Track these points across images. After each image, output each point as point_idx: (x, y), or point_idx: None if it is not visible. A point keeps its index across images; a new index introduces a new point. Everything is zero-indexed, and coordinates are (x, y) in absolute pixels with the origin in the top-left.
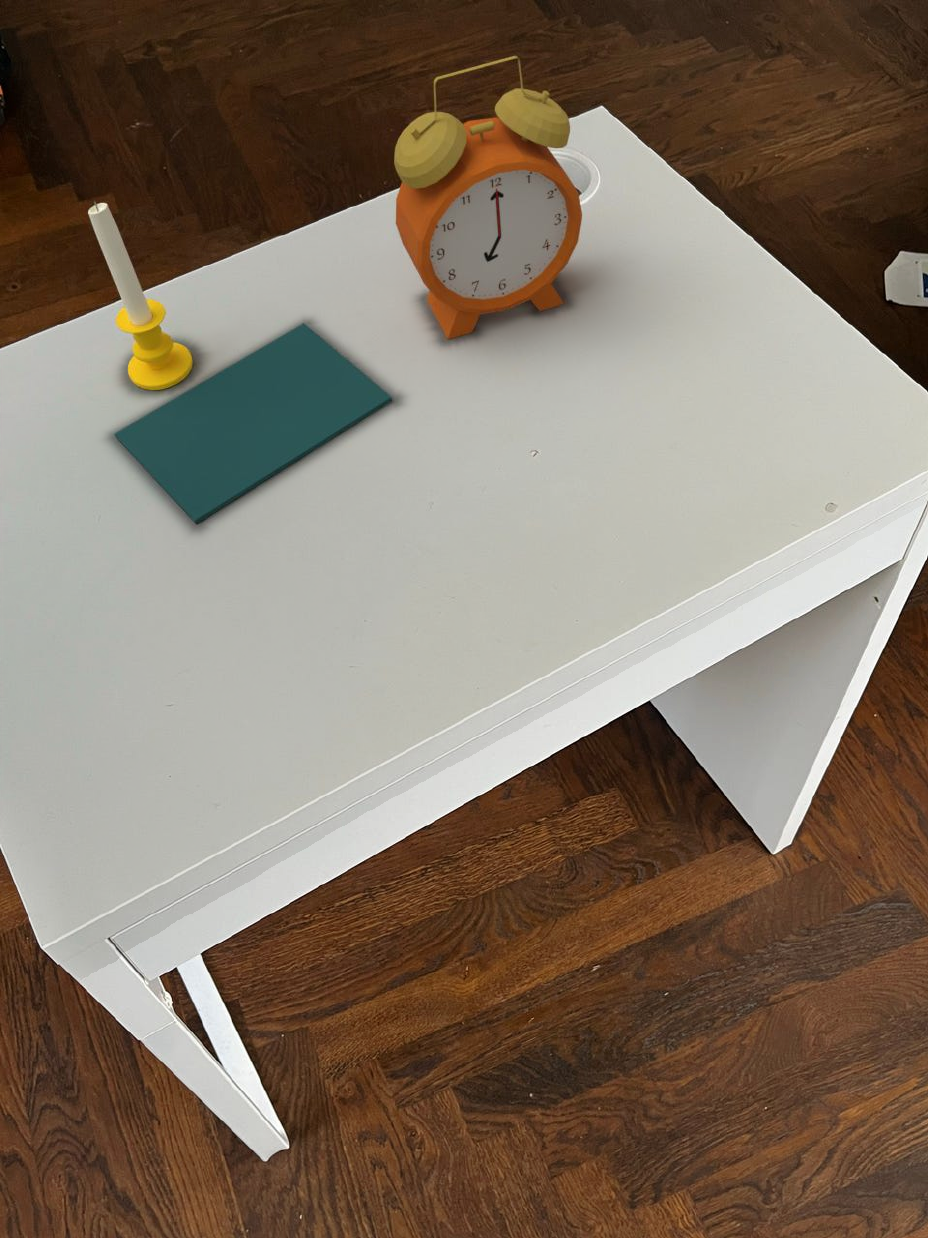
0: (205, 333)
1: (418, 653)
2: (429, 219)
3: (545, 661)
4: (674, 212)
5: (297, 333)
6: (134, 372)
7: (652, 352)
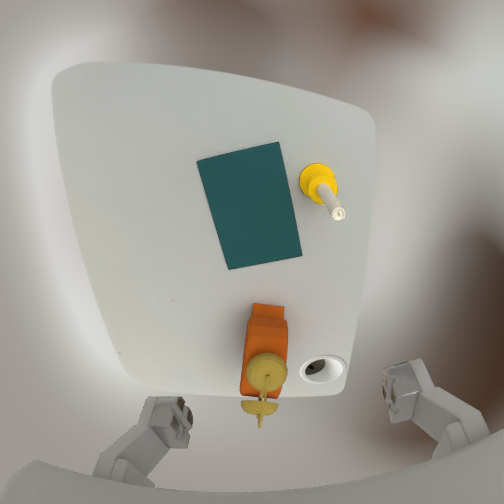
0: None
1: (98, 222)
2: (247, 347)
3: (85, 258)
4: None
5: (296, 250)
6: (318, 167)
7: (204, 354)
